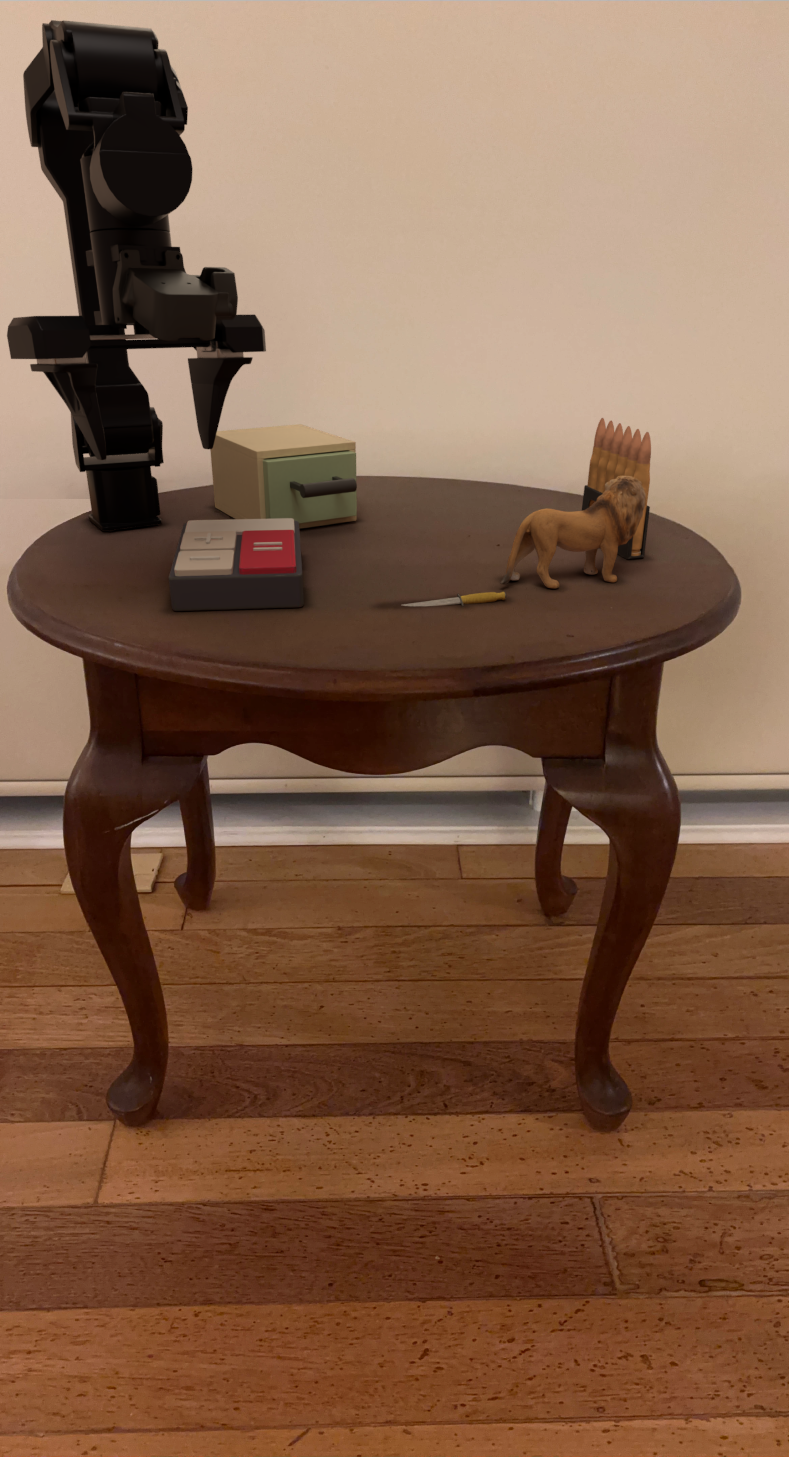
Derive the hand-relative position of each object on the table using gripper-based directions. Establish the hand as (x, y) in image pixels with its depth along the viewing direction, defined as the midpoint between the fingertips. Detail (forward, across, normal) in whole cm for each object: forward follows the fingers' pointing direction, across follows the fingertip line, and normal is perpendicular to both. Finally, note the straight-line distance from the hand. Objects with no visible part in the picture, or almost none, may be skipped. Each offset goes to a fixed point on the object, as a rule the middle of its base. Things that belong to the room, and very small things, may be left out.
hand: (156, 453), depth 74 cm
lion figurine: (+13, +32, -16) cm, 38 cm away
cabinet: (+10, +24, +20) cm, 33 cm away
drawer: (+10, +24, +16) cm, 31 cm away
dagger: (+13, +18, -14) cm, 27 cm away
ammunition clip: (+12, +44, -11) cm, 47 cm away
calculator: (+12, +8, +2) cm, 14 cm away
